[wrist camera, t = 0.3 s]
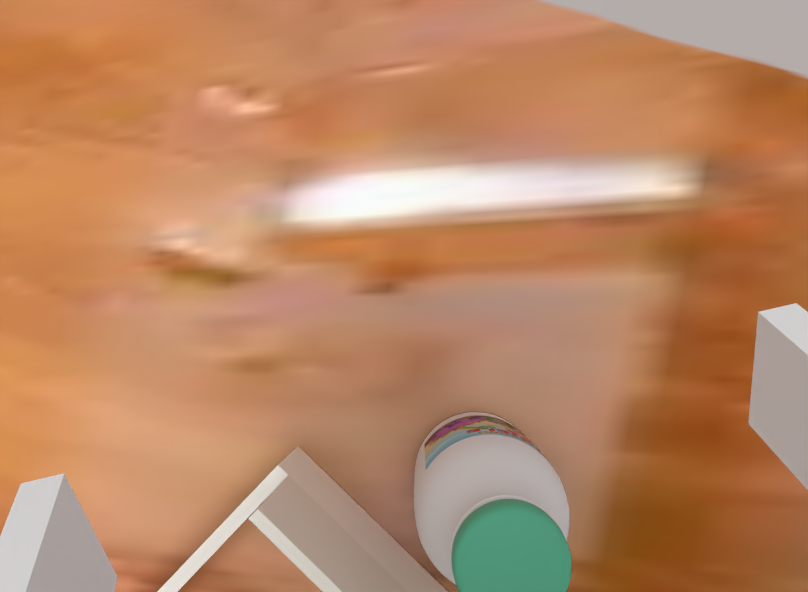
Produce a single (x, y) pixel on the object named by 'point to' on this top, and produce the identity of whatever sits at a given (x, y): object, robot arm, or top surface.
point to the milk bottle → (491, 508)
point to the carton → (318, 534)
